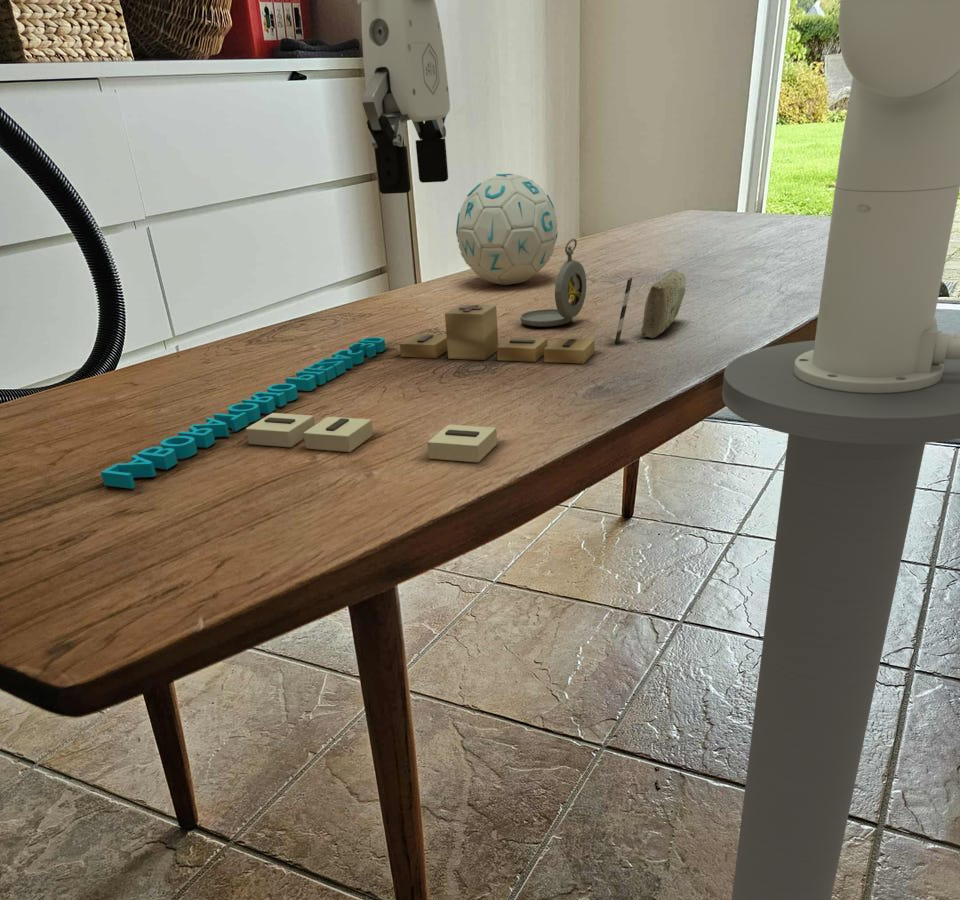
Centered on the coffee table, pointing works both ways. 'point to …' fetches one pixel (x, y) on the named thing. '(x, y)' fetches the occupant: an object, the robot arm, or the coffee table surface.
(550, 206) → the puzzle ball
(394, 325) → the coffee table surface
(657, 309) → the stone and scale-bar
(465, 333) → the letter block
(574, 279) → the pocket watch
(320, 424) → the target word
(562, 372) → the coffee table surface
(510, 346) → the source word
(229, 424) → the text ornament
